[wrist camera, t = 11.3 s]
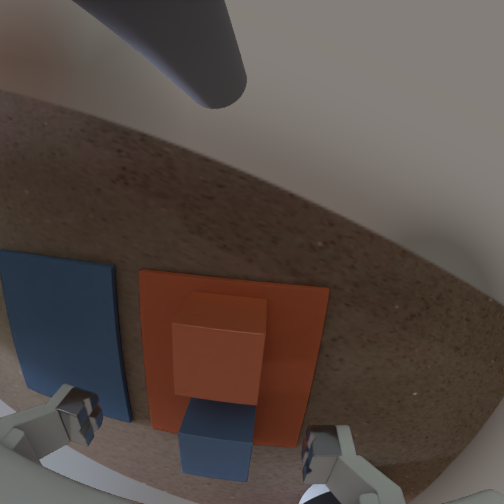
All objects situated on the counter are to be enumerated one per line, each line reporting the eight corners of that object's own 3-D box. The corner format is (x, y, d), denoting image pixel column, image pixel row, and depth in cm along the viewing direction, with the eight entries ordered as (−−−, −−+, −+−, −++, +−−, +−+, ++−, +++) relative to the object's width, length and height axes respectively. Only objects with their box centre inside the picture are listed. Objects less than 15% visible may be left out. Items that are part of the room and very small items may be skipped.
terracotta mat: (141, 268, 20) (138, 270, 19) (328, 287, 20) (330, 290, 19) (154, 424, 23) (152, 428, 23) (296, 442, 23) (296, 447, 22)
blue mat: (2, 249, 21) (-3, 250, 20) (115, 264, 20) (111, 267, 20) (30, 384, 24) (27, 387, 23) (132, 419, 23) (130, 423, 23)
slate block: (193, 390, 21) (177, 432, 17) (256, 398, 21) (252, 443, 17) (194, 431, 22) (182, 472, 18) (251, 439, 22) (247, 482, 18)
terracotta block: (193, 290, 20) (171, 322, 15) (268, 298, 19) (265, 334, 15) (192, 353, 21) (174, 394, 16) (260, 361, 20) (257, 406, 16)
